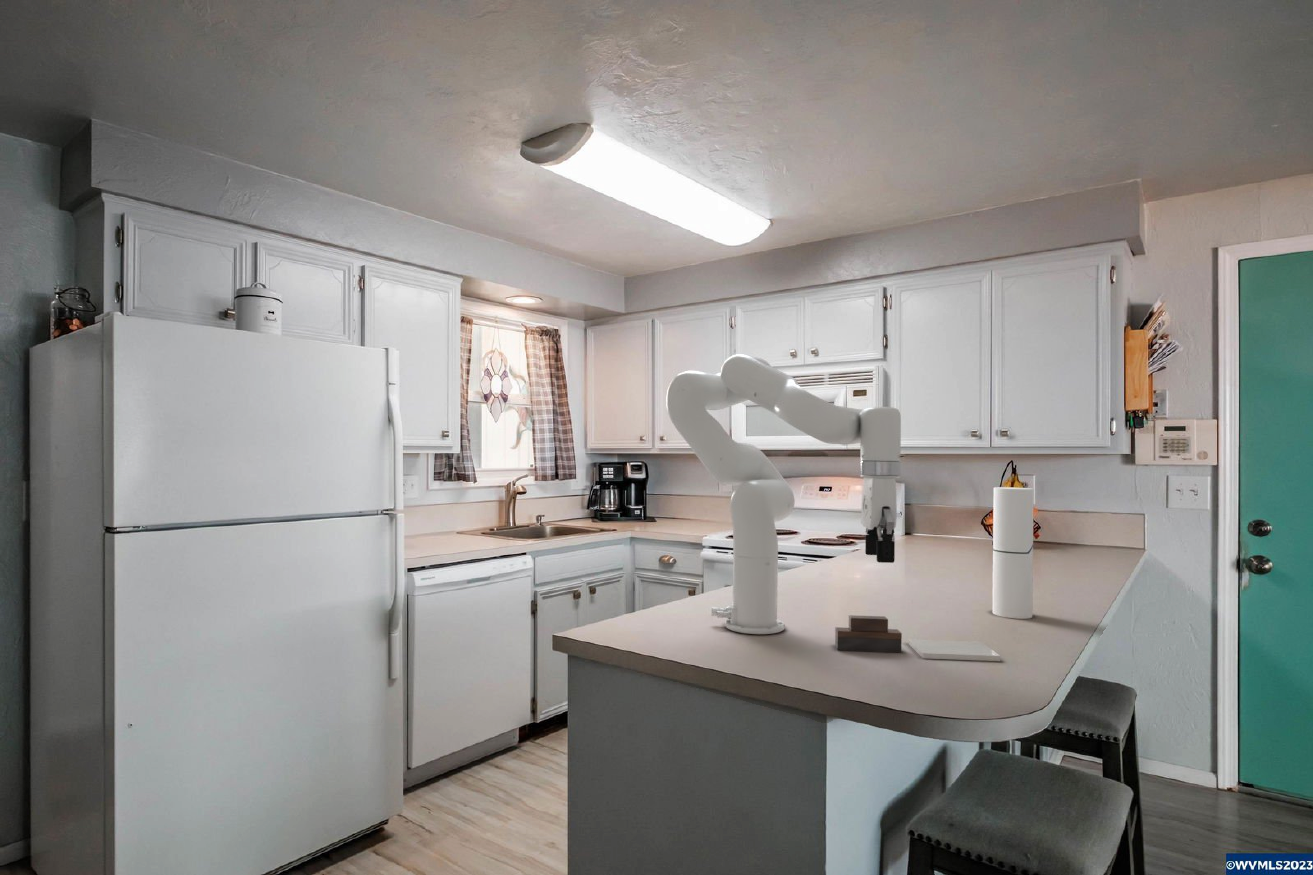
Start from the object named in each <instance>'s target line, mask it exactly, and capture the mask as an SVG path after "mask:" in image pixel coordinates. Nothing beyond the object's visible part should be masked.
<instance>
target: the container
mask: <svg viewBox="0 0 1313 875" xmlns="http://www.w3.org/2000/svg"><path fill="white" fill-rule="evenodd" d="M1034 491H1035V490H1034V488H1030V487H1015V486H1014V487H1012V486H1011V487H1010V486H1005V487H1004V486H995V487H993V498H992V499H993V503H992V504H993V505H992V506H993V508H992V510H993V512H992V514H993V516H992V518H993V519H992V522H993V523H992V610H991V611H992V614H993V615H995V616H998V617H1002V618H1009V619H1016V620H1017V619H1018V620H1019V619H1021V620H1023V619H1024V620H1026V619H1031V618H1033V608H1034V607H1033V602H1034V601H1033V598H1034V597H1033V595H1034V594H1033V591H1034Z"/></svg>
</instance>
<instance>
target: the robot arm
mask: <svg viewBox="0 0 1313 875" xmlns="http://www.w3.org/2000/svg"><path fill="white" fill-rule="evenodd" d="M747 401H749V402H752V403H754V404H756V405H757V406H760V407H762V408H763V409H765V410H767V411H768V412H770V413H772V414H774V415H776V417H778V418H779V419H781V420H782V421H784V422H785V423H787V424H788V425H790V426H791V427H793V428H795V429H796V430H799V431H800V432H803V433H804V434H806V435H808V436H809V437H812V438H814V439H815V440H817V441H819V442H823V443H825V444H828V445H829V444H830V445H831V444H832V445H856V444H859V446H860V447H859V450H860V451H859V452H860V453H859V454H860V455H859V456H860V457H859V478H862V479H863V481H862V492H861V509H860V524H861V525H862V526H863V527H864V528H865V549H864V551H865V552H864V553H865V555H866V556H876V562H877V563H886V564H887V563H888V564H891V563H892V564H894V563H895V560H896V558H895V553H896V552H895V549H896V546H895V544H896V542H895V540H896V538H895V528H896V527H897V513H898V512H897V511H898V510H897V505H898V504H897V483H896V480H897V479H901V448H902V447H901V444H902V443H901V441H902V438H901V437H902V435H901V434H902V433H901V432H902V420H901V419H902V415H901V412H900V410H899V409H898V408H896V407H892V406H891V407H890V406H871V407H865V408H862V409H861V408H853V407H847V406H841V405H836V404H833V403H831V402H828V401H826V400H824V399H823V398H820V397H818V396H816V395H815V394H812V393H811V392H809V391H807V390H806V389H804V388H802V386H800V384H799V381H798V380H797V379H796V378H794V377H793V376H791V375H789V374H787V373H784V372H783V371H780V370H778V369H777V368H774V367H772V366H771V364H770V363H769V362H768V361H766V360H765V359H762V358H760V357H758V356H752V355H749V354H743V353H738V354H733V355H732V356H729V357H728V358H726V360H725V361H724V362H723V363H722V365H721V368H720V372H718V373H716V374H714V373H709V372H704V371H700V370H699V371H698V370H687V371H683V372H680V373H678V374H676V375H675V377H673V379H671V381H670V383H669V386H668V388H667V392H666V401H665V402H666V409H667V413H668V416H669V419H670V421H671V423H672V424H673V426H674V428H675V429H676V430H677V433H679V435H680V436H681V437H682V439H683V440H684V441H685V442H686V443H687V444H688V446H689V447H690V449H691V450H692V452H693V453H694V455H695V456H696V457H697V458H698V460H699V461H700V462H701V464H702V466H704V468H705V469H706V471H707V472H708V473H709V475H710V476H711V478H712V479H713V480H714V481H715V482H716V483H718V484H720V485H722V486H737V487H736V488H735V489H734V490H733V492H732V494H731V498H730V501H729V512H730V518H731V524H732V536H733V537H732V539H733V540H732V541H733V544H732V548H733V549H732V553H733V554H732V560H733V562H732V602H731V603H730V605H729V606H728V605H726V607H719V606H711V617H716V618H718V619H719V618H720V619H723V618H724V619H725V621H724V626H725V628H726V629H728V630H729V631H732V632H736V633H739V634H740V633H741V634H746V635H747V634H748V635H773V634H778V633H781V632H782V631H784V630H785V623H784V621H782V620H780V619H778V581H779V580H778V579H779V578H778V575H779V573H778V572H779V567H778V566H779V540H778V534H777V529H776V523H775V522H779V521H783V520H784V519H786V518H788V517H789V516H790V515H791V514H792V513H793V511H794V507H795V500H796V499H795V494H794V492H793V490H792V488H791V486H790V485H789V483H788V481H787V480H785V478H784V477H783V475H782V474H781V473H780V472H779V470H778V469H777V468H776V466H775V465H774V464H773V463H772V462H771V461H770V459H769V458H768V456H766V455H765V453H764V452H763V451H762V450H761V449H760V448H758V447H757V446H755V445H753V444H751V443H746V442H737V441H736V440H734V439H733V438H732V436H730V435H729V433H728V432H727V431H726V430H725V429H724V427H723V425H722V424H721V423H720V421H718V420H717V419H716V418H715V417H714V416H713V415H712V414H710V413H709V411H719V410H724V409H726V408H729V407H732V406H735V405H738V404H741V403H745V402H747Z"/></svg>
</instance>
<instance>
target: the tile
mask: <svg viewBox="0 0 1313 875" xmlns="http://www.w3.org/2000/svg"><path fill="white" fill-rule="evenodd" d="M908 645H909V646H910V647H911V649H913V650H914V652H916V653H917V654H918V655H919V657H921V658H922V659H925V660H926V659H929V660H951V661H955V660H956V661H977V662H978V661H980V662H1001V660H1002V659H1001V655H1000V654H998V653H997V652H996V651H994V650H993V649H992V648H990V647H989V646H987V644H985V643H983V642H982V641H970V640H969V641H967V640H942V639H941V640H939V639H936V640H935V639H914V638H913V639H912V638H911V639H910V638H909V639H908Z"/></svg>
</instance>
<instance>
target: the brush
mask: <svg viewBox="0 0 1313 875" xmlns="http://www.w3.org/2000/svg"><path fill="white" fill-rule="evenodd" d="M834 633H835V634H834V647H835V648H836V650H837V651H849V652H850V651H851V652H875V653H900V654H901V653H902V639H903V638H902V636H903V635H902V632H901V631H900V630H899V629H896V628H895V629H894V628H889V619H888V618H887V617H886V616H882V615H881V616H880V615H853V614H852V615H851V614H850V615H848V627H837V626H835V629H834Z"/></svg>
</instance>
